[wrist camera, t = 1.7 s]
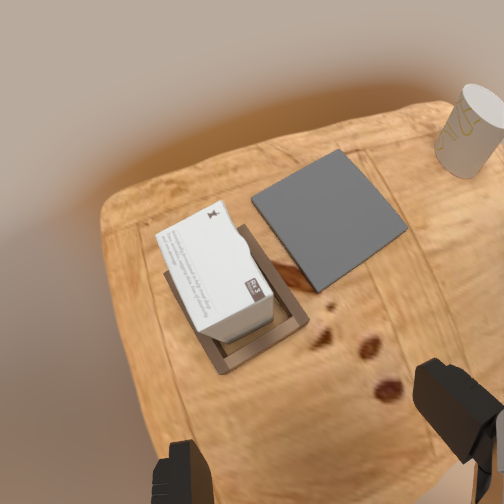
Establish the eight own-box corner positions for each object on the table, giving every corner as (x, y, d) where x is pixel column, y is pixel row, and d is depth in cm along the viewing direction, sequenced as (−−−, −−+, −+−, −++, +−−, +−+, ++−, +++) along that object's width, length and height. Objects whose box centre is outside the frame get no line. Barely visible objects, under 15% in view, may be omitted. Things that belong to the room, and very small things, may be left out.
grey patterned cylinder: (435, 129, 41) (460, 76, 30) (476, 148, 39) (507, 100, 28) (433, 166, 39) (465, 111, 28) (478, 186, 37) (517, 138, 26)
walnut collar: (248, 236, 38) (244, 223, 34) (307, 324, 33) (309, 319, 30) (173, 281, 37) (163, 273, 33) (225, 374, 32) (219, 375, 29)
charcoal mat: (338, 152, 41) (339, 148, 40) (405, 230, 36) (408, 227, 35) (251, 201, 39) (250, 197, 38) (317, 293, 34) (318, 291, 34)
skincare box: (198, 283, 36) (147, 231, 22) (244, 259, 37) (219, 193, 23) (230, 348, 33) (191, 335, 19) (279, 322, 34) (275, 291, 20)
